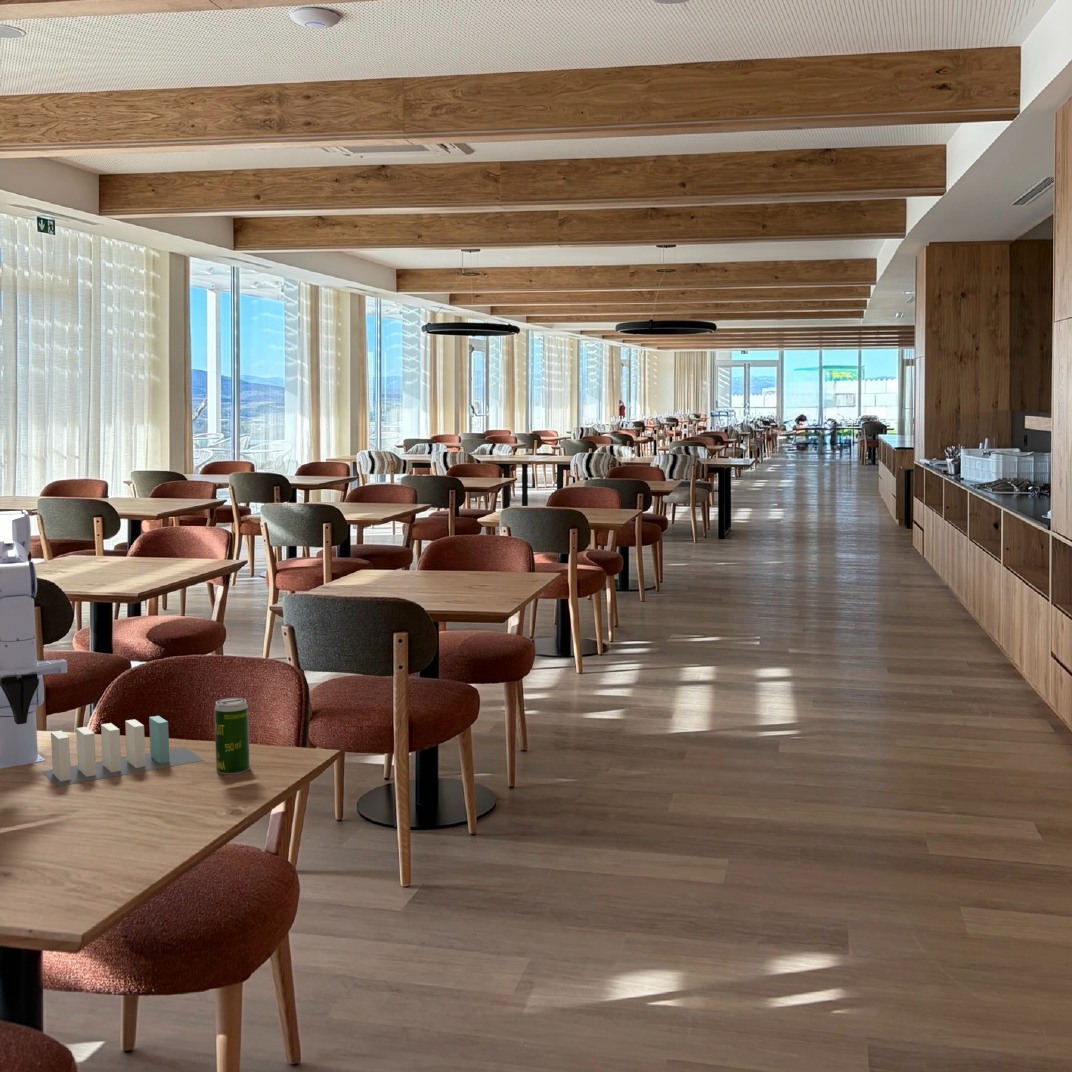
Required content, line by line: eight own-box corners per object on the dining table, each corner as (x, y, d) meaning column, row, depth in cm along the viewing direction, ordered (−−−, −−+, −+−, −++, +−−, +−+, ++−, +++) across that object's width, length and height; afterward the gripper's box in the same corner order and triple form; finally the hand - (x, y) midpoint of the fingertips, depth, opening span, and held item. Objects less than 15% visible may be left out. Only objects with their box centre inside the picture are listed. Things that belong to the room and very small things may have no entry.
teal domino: (160, 763, 198) (158, 723, 197) (150, 756, 202) (149, 717, 201) (169, 762, 199) (168, 721, 198) (160, 755, 203) (158, 715, 202)
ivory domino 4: (135, 768, 196) (134, 726, 195) (127, 760, 200) (125, 720, 199) (145, 766, 197) (143, 725, 196) (136, 759, 201) (134, 719, 200)
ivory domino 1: (60, 781, 189) (58, 738, 188) (52, 773, 193) (50, 732, 192) (70, 779, 190) (68, 737, 189) (63, 771, 194) (61, 730, 193)
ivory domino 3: (111, 772, 193) (109, 730, 193) (102, 765, 197) (101, 724, 197) (121, 770, 194) (119, 729, 194) (112, 763, 198) (110, 722, 198)
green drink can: (242, 765, 198) (239, 696, 197) (255, 773, 194) (253, 702, 193) (211, 771, 195) (209, 700, 194) (224, 779, 191) (221, 707, 190)
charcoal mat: (41, 774, 194) (41, 771, 194) (184, 749, 208) (184, 747, 208) (56, 789, 186) (56, 786, 186) (204, 763, 200) (204, 760, 200)
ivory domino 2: (86, 776, 191) (84, 734, 190) (78, 769, 195) (76, 728, 194) (96, 775, 192) (94, 733, 191) (88, 767, 196) (86, 726, 195)
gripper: (-29, 647, 178) (-24, 735, 179) (70, 636, 186) (74, 720, 188) (-38, 640, 184) (-33, 726, 185) (59, 630, 192) (63, 712, 193)
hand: (20, 722), depth 187 cm, fingers closed
